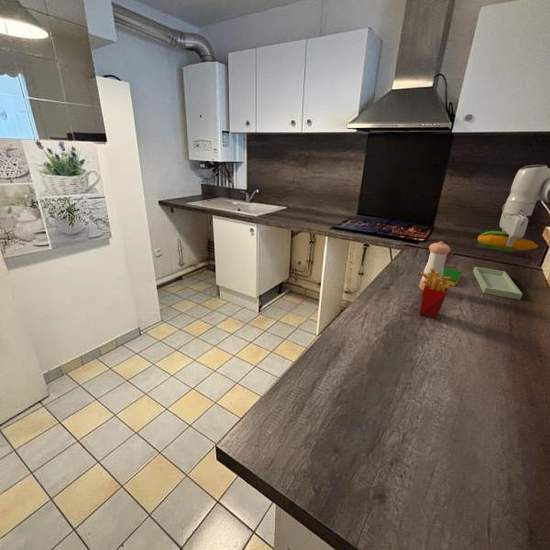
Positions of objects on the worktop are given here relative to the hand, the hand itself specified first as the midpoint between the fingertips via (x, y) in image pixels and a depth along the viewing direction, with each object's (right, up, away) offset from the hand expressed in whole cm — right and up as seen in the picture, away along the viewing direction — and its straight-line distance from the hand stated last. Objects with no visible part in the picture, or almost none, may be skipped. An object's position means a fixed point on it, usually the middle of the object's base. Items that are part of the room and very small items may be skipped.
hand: (505, 243), depth 118 cm
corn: (0, -3, +1) cm, 3 cm away
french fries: (-44, -26, -22) cm, 55 cm away
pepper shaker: (-33, -18, -4) cm, 38 cm away
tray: (-3, -17, +2) cm, 17 cm away
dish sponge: (-20, -15, +6) cm, 25 cm away
